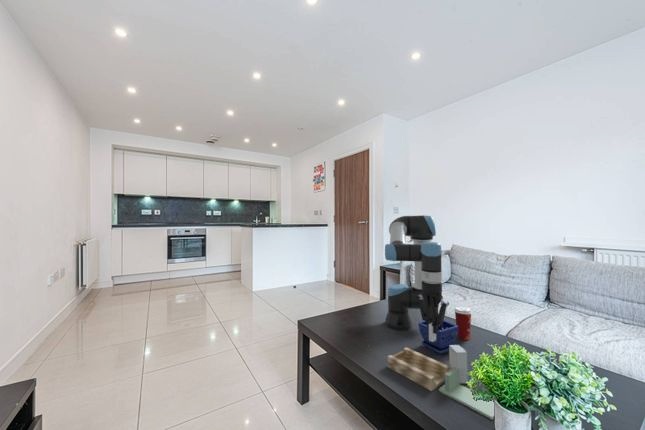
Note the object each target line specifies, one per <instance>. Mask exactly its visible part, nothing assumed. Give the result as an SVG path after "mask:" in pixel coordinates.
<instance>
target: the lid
mask: <svg viewBox="0 0 645 430" xmlns="http://www.w3.org/2000/svg"><path fill="white" fill-rule="evenodd" d="M470 390H471V389H470V388H468V387H466V386H464V385H461V384H459V369H457V368H455V367H454V368H453V369H451V370H450V371H448V372H447V373H445V382H444V384H443V385H442V386H439V388H438V391H439V392H441V393H442V394H444V395H445V396H447V397H449V398H451V399H453V400H455V401H457V402H459V403H460V404H462V405H464V406H466V407H468V408H470V409H472V410H474V411H476V412H477V413H479V414H481V415H483V416H485V417H487V418H488V419H490V420H492V421H493V420H494V419H495V418H494V402H493V401H494V400H492V399H491V400H492V401H489V402H486V401H483V400H477V401H476V402H475V400H474V399H473V395H472V392H471V391H470Z"/></svg>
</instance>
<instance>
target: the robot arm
mask: <svg viewBox="0 0 645 430" xmlns="http://www.w3.org/2000/svg"><path fill="white" fill-rule="evenodd" d="M388 232H389V235H390V238H389V239H390V240H389V243H385V246H384V258H385V260H386V261H391V262H413V264H414V267H413V268H414V282H413V283H412V285H411V287H409V286H408V284H402V283H399V284H391V285H390V286H388V288H387V314H386V317H385V326H386V327H387V326H388V327H387V328H389V327H390V328H389V329H392V330H395V331H407V330H410V329H411V328H412V326H413V322H412V319H411V317H410V311H409V309H411V310H420V315H421V319H422V321H426V322H427V331H429V341H431V342H433V341H435V340H436V333H438V326H440V325H441V324H443V320H444V321H445V316H446V311H447V308H448V306H449V304H450V303H449V302H448V301H446V300H445V299H444V297H443V295H442V293H443V282H442V281H443V275H442V274H443V271H442V253H443V251H442V245H441V243H440V242H436V241H433V240H434V238H433V237H435V236H436V224H435V221H434V218H433V216H431V215H401V216H400V217H397V218H395V219H393V221H392V222H391V223H390V224H389V226H388ZM406 237H410V240H411V241H413V243H411V244H410V243H407V241H406V239H407V238H406ZM439 306H440V307H439Z"/></svg>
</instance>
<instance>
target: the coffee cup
mask: <svg viewBox="0 0 645 430" xmlns="http://www.w3.org/2000/svg"><path fill="white" fill-rule="evenodd" d="M453 311H454V315H455V325H457V326H458V334H457V338H459V339H460V340H464V341H469V340H470V339H471V327H472V326H471V325H472V314H473V313H472V310H471V308H469V307H465V306H455V308H454V310H453Z"/></svg>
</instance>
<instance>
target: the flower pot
mask: <svg viewBox="0 0 645 430" xmlns="http://www.w3.org/2000/svg"><path fill="white" fill-rule="evenodd" d="M417 325H418V329H419V333H420V335H421V337H422V339H423V340H421V342H420V343H421V344H422V345H423V346H424V347H425V348H427V349H428V350H430V351H432V352H434V353H436V354H438V355H442V354H444V353H449V345H455V342H456V340H457V338H458V337H457V334H458V326H457V325H456V323H452V322H450V321H447V320H445V319H444V320H443V324H441V325H439V326H438V333H436V340H435V341H433V342H431V341H429V331H427V322H426V321H425V320H424V321H423V320H422V321H419V322H418V324H417Z"/></svg>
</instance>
